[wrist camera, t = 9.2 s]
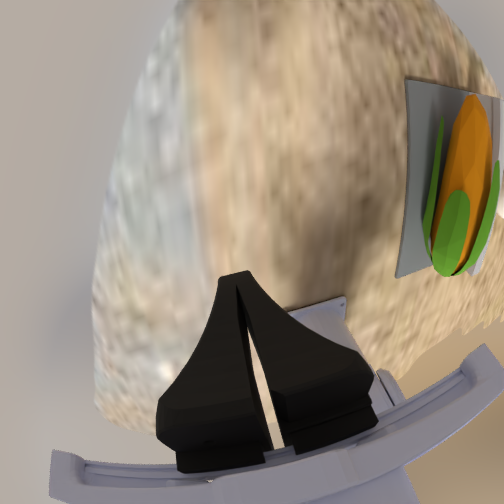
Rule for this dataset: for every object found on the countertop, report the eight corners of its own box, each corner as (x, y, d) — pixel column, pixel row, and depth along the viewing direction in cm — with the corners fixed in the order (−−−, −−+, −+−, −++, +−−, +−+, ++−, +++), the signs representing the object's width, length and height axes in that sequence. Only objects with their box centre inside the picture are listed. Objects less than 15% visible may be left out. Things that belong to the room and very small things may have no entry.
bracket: (456, 252, 30) (478, 272, 26) (394, 276, 29) (418, 303, 25) (473, 93, 18) (506, 101, 14) (404, 79, 17) (444, 82, 13)
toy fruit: (446, 304, 21) (489, 91, 10) (402, 264, 27) (421, 81, 17) (480, 283, 22) (517, 108, 12) (440, 250, 29) (461, 93, 18)
